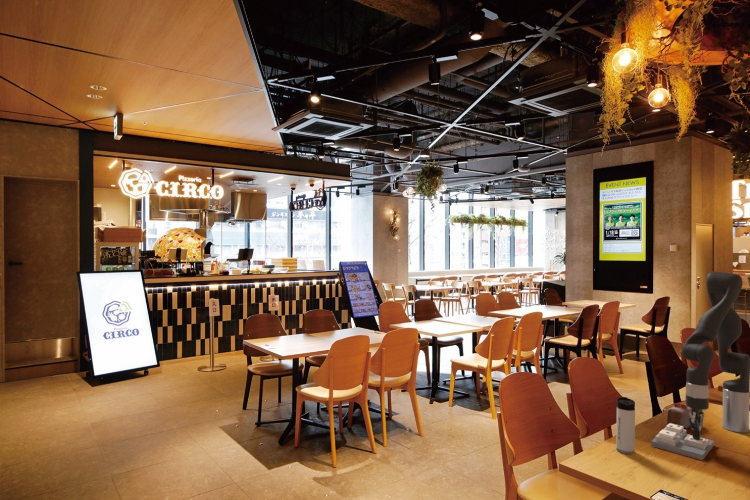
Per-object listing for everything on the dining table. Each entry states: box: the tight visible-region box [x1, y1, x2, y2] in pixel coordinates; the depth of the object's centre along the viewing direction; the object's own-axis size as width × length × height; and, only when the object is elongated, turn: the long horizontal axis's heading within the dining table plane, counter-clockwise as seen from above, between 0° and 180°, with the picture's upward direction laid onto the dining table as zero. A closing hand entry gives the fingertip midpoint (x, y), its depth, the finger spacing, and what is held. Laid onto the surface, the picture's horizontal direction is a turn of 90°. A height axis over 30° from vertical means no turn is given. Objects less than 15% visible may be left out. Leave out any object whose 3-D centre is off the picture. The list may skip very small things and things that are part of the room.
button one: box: [658, 428, 677, 440], centre depth 186 cm, size 5×5×2 cm
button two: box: [665, 423, 684, 433], centre depth 193 cm, size 5×5×2 cm
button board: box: [650, 427, 715, 461], centre depth 186 cm, size 19×17×4 cm
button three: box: [687, 436, 706, 443], centre depth 183 cm, size 5×5×2 cm
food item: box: [666, 402, 692, 429], centre depth 208 cm, size 14×8×10 cm, turn 128°
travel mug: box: [615, 396, 636, 455], centre depth 181 cm, size 6×7×20 cm
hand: (696, 439), depth 183 cm, fingers closed
